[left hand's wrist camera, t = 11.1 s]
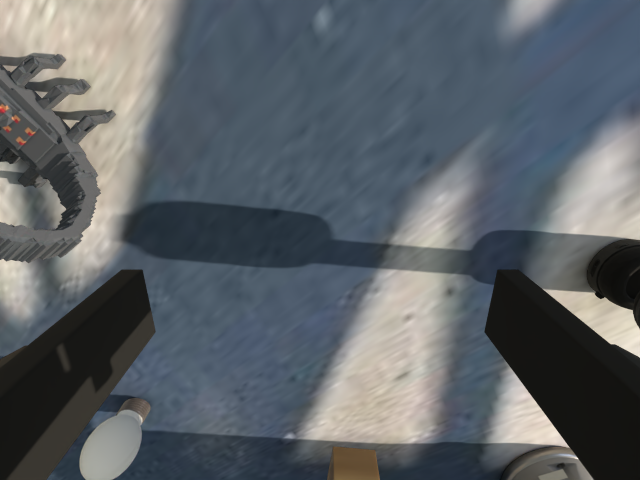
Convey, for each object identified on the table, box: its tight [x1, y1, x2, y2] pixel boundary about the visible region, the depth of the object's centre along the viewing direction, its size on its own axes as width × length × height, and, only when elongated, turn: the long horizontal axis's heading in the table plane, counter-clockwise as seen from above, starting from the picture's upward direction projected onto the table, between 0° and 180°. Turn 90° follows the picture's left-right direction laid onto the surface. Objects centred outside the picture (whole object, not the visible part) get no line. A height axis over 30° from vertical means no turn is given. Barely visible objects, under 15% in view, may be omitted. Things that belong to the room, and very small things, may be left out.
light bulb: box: [80, 398, 150, 480], centre depth 47 cm, size 7×7×11 cm
